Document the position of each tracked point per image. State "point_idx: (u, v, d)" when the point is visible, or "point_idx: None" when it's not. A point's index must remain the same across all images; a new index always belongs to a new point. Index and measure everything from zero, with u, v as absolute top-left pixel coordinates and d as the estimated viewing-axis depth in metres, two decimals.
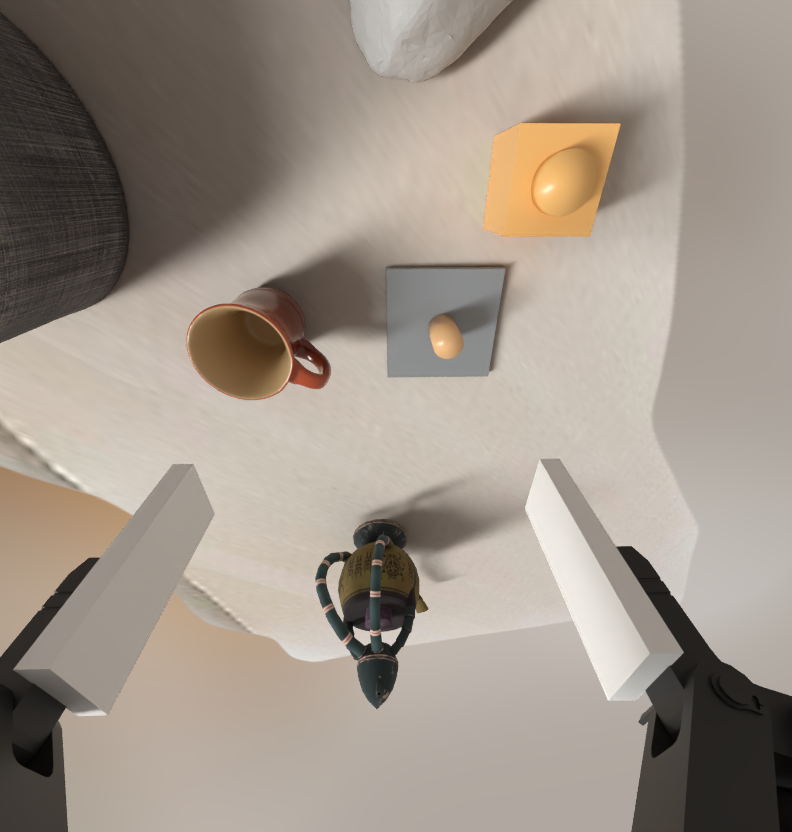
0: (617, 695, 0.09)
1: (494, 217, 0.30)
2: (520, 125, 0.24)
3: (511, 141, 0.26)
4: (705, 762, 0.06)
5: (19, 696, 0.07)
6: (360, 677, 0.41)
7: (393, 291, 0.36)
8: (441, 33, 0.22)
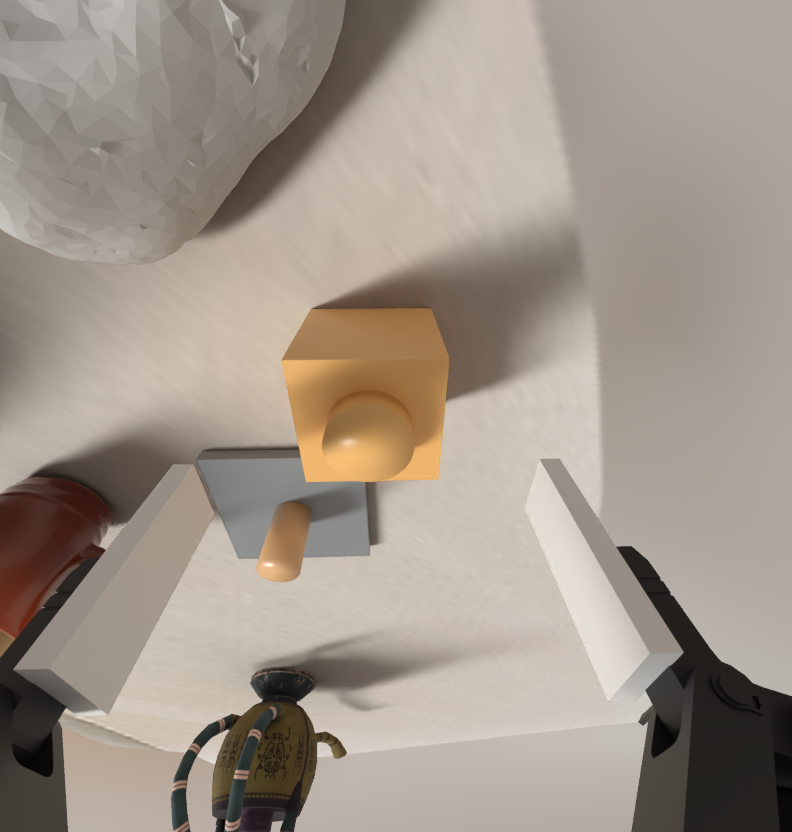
0: (617, 695, 0.09)
1: None
2: (282, 361, 0.14)
3: None
4: (705, 762, 0.06)
5: (19, 696, 0.07)
6: None
7: (215, 481, 0.26)
8: (110, 228, 0.13)
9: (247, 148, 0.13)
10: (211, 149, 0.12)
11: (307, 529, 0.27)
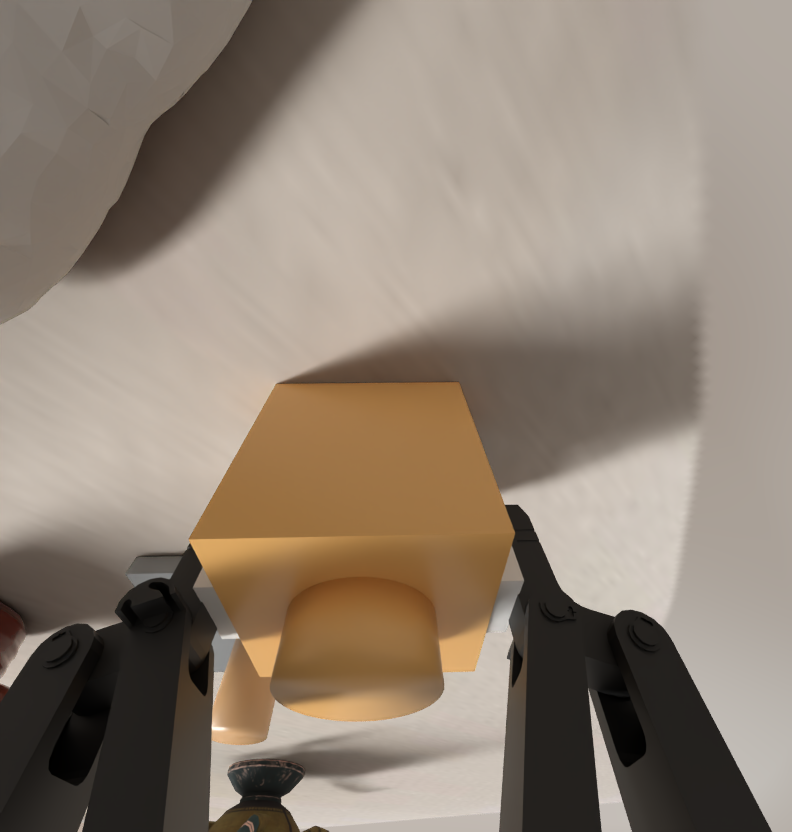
0: None
1: None
2: (193, 539, 0.07)
3: None
4: (538, 677, 0.07)
5: (195, 619, 0.09)
6: None
7: None
8: None
9: (97, 116, 0.06)
10: None
11: None
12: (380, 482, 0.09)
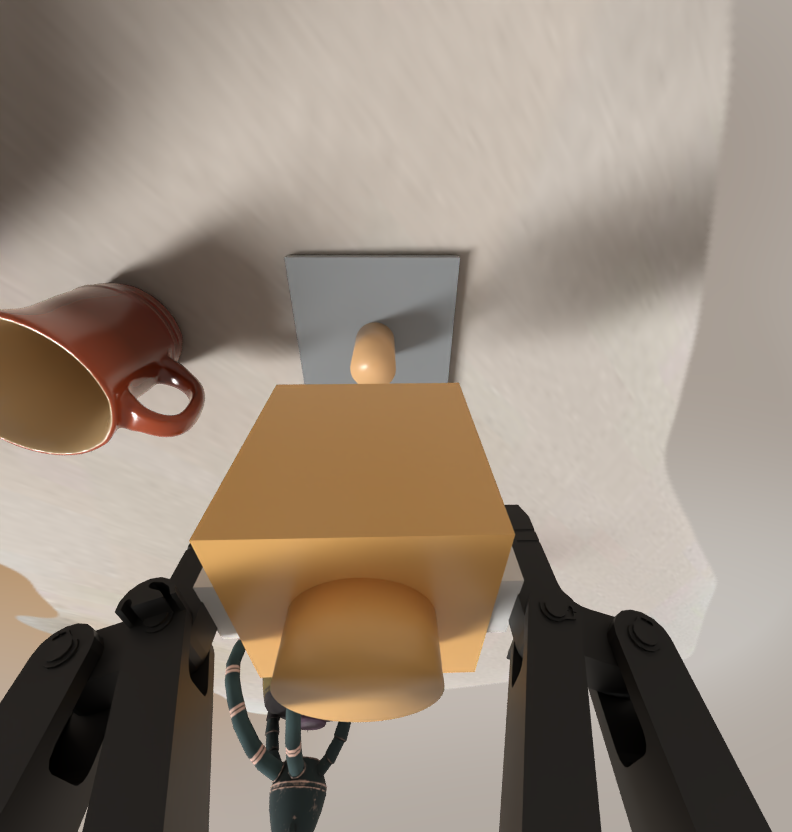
0: None
1: None
2: (194, 540, 0.07)
3: None
4: (538, 677, 0.07)
5: (196, 618, 0.09)
6: (270, 813, 0.30)
7: (299, 290, 0.25)
8: None
9: None
10: None
11: (394, 347, 0.25)
12: (380, 483, 0.09)
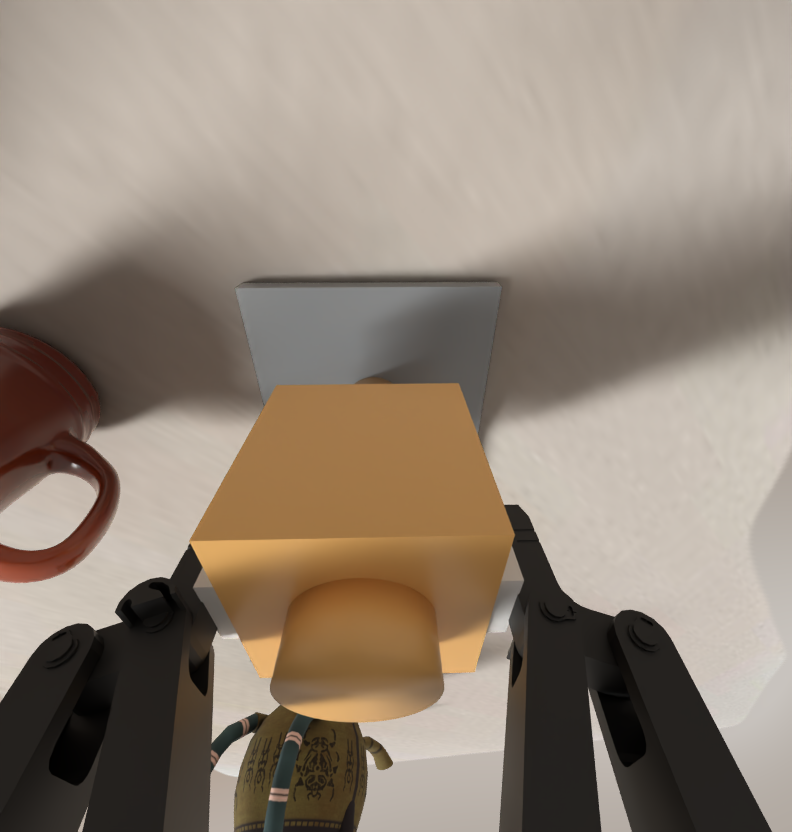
0: None
1: None
2: (193, 541, 0.08)
3: None
4: (538, 677, 0.07)
5: (195, 618, 0.09)
6: None
7: (261, 334, 0.17)
8: None
9: None
10: None
11: None
12: (380, 484, 0.09)
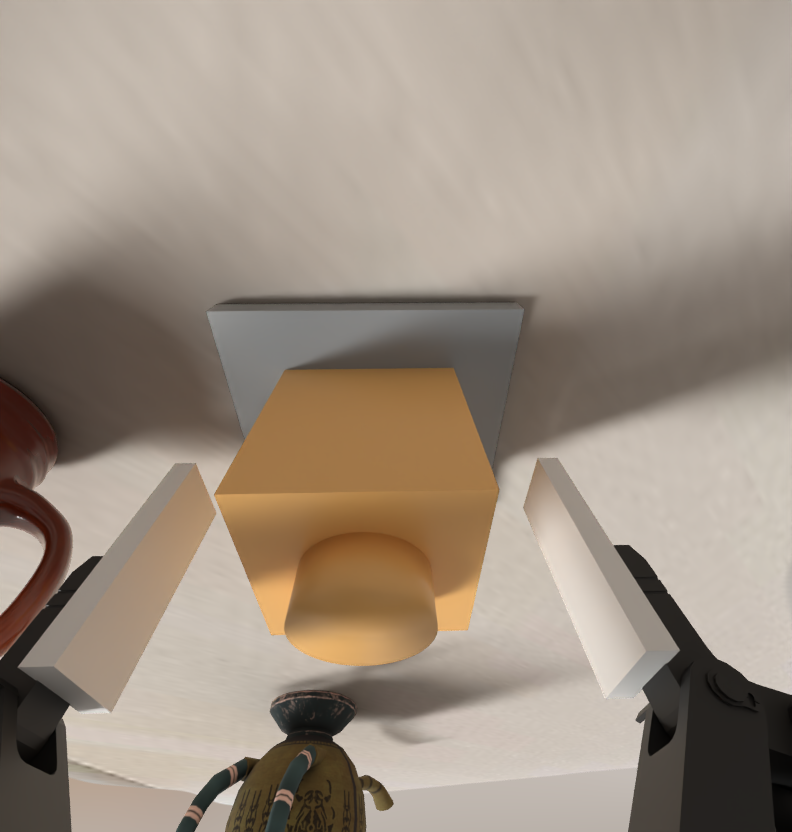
0: (614, 693, 0.09)
1: None
2: None
3: None
4: (701, 759, 0.06)
5: (23, 693, 0.07)
6: None
7: (239, 363, 0.14)
8: None
9: None
10: None
11: None
12: (381, 450, 0.10)
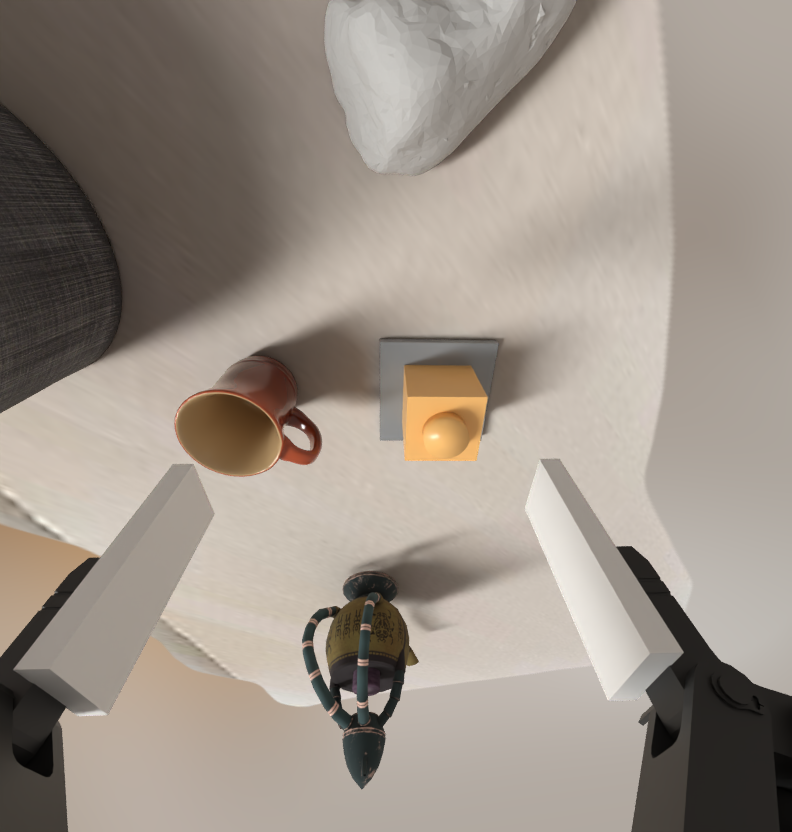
0: (617, 695, 0.09)
1: (403, 430, 0.36)
2: (407, 397, 0.30)
3: (406, 396, 0.32)
4: (705, 762, 0.06)
5: (19, 696, 0.07)
6: (345, 752, 0.40)
7: (386, 362, 0.36)
8: (436, 138, 0.23)
9: (505, 91, 0.23)
10: (496, 89, 0.22)
11: None
12: (451, 388, 0.31)
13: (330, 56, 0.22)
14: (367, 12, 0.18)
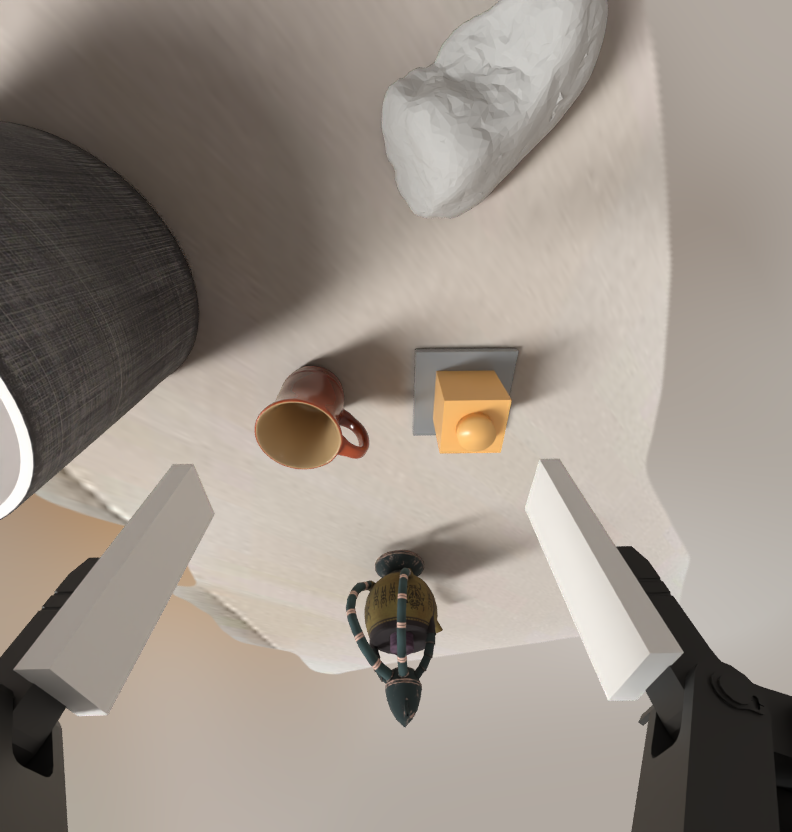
0: (617, 695, 0.09)
1: (436, 427, 0.42)
2: (444, 401, 0.36)
3: (441, 399, 0.38)
4: (705, 762, 0.06)
5: (19, 696, 0.07)
6: (389, 699, 0.47)
7: (421, 369, 0.41)
8: (474, 193, 0.28)
9: (529, 151, 0.28)
10: (522, 152, 0.27)
11: None
12: (479, 392, 0.37)
13: (386, 131, 0.27)
14: (424, 109, 0.24)
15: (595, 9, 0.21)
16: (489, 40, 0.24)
